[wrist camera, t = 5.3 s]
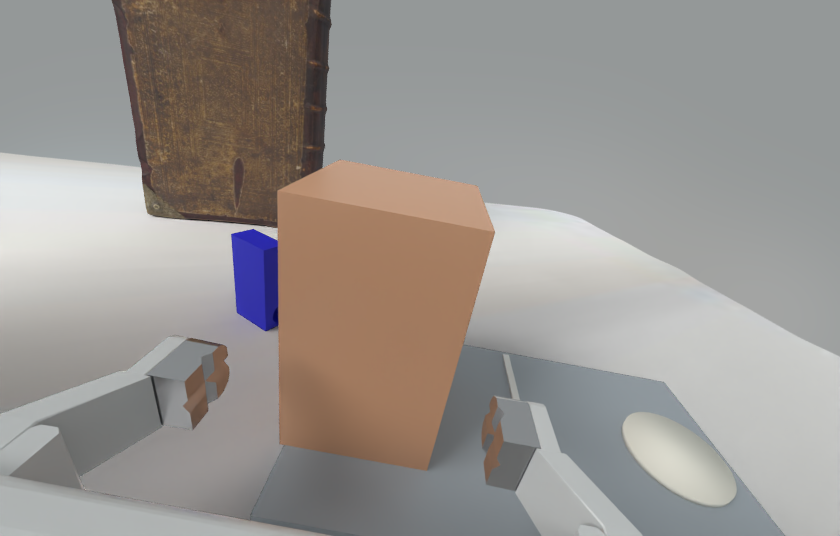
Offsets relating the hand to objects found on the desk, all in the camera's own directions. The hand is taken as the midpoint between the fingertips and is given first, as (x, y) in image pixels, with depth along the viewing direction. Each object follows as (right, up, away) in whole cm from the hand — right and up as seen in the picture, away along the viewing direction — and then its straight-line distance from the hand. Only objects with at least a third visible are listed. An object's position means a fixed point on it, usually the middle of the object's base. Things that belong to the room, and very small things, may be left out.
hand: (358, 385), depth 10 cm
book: (-18, +9, +28) cm, 35 cm away
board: (+7, -6, +8) cm, 12 cm away
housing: (-1, -3, +7) cm, 8 cm away
